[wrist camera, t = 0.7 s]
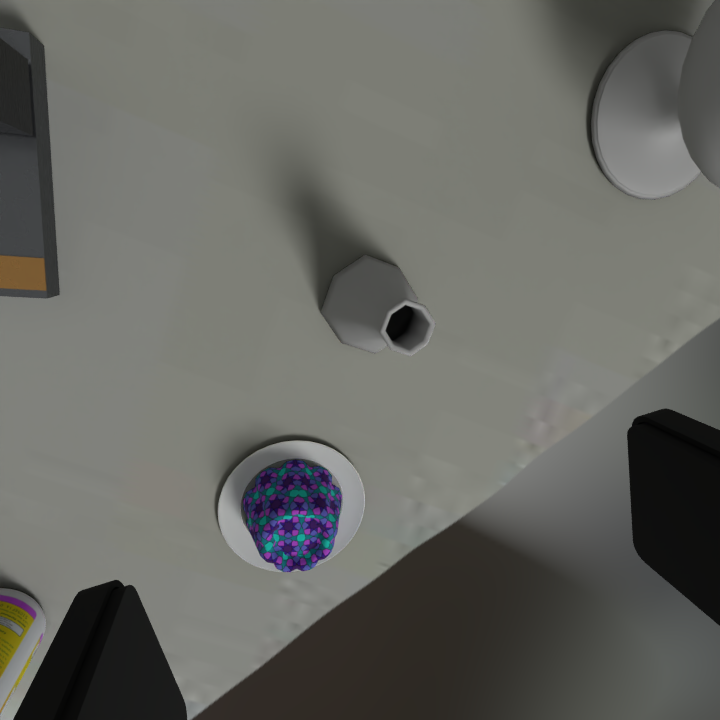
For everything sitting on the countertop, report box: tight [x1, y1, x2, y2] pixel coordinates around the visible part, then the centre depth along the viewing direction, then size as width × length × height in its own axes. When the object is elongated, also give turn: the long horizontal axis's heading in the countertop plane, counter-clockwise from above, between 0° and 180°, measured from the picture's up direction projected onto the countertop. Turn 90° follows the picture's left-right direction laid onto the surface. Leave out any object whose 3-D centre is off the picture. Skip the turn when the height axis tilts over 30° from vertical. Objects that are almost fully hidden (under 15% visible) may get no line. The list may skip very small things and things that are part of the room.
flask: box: [321, 255, 436, 356], centre depth 32 cm, size 7×7×10 cm
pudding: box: [218, 440, 365, 572], centre depth 38 cm, size 12×12×5 cm
